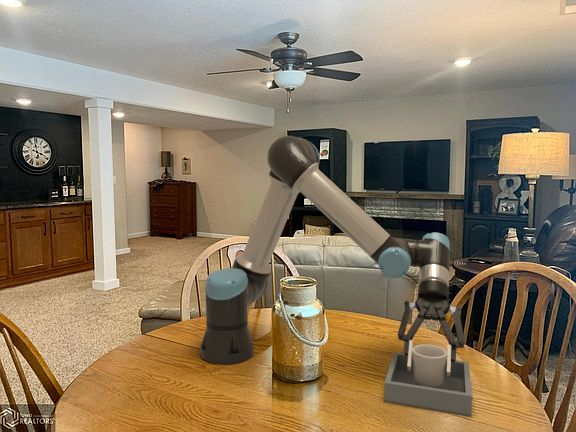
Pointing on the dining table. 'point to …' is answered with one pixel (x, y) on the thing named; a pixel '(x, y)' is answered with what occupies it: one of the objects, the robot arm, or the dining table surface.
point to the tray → (429, 388)
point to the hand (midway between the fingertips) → (428, 371)
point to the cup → (429, 365)
